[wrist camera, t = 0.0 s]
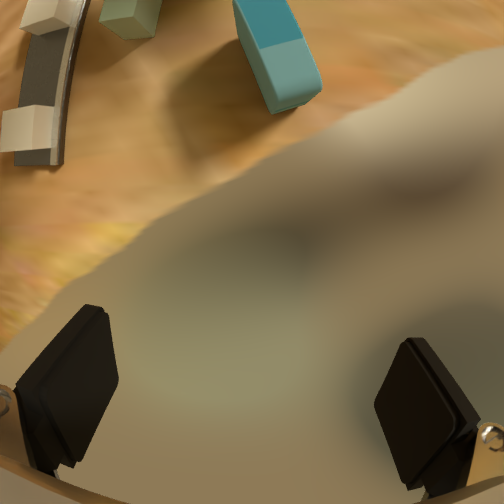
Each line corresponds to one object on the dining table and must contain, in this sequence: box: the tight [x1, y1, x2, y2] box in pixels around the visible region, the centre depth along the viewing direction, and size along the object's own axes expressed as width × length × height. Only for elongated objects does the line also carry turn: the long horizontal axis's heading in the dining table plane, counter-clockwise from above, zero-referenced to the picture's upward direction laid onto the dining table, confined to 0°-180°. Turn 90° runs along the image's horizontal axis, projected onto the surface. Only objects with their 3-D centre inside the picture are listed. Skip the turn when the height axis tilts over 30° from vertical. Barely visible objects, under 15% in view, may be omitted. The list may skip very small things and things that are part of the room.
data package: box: [232, 0, 322, 114], centre depth 27 cm, size 12×4×12 cm, turn 20°
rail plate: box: [14, 0, 91, 166], centre depth 31 cm, size 30×10×2 cm, turn 173°
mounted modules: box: [0, 0, 77, 152], centre depth 28 cm, size 25×7×5 cm, turn 173°
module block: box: [99, 0, 162, 40], centre depth 26 cm, size 8×4×8 cm, turn 173°
